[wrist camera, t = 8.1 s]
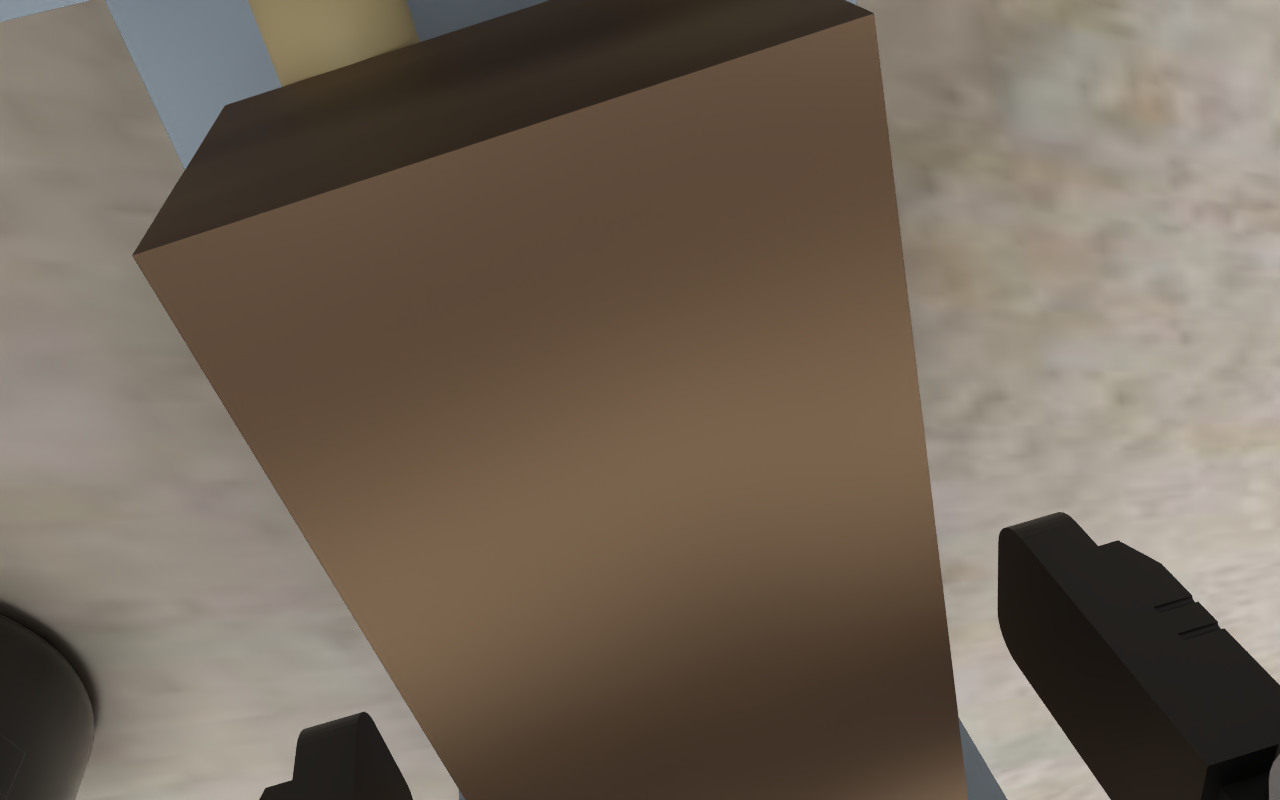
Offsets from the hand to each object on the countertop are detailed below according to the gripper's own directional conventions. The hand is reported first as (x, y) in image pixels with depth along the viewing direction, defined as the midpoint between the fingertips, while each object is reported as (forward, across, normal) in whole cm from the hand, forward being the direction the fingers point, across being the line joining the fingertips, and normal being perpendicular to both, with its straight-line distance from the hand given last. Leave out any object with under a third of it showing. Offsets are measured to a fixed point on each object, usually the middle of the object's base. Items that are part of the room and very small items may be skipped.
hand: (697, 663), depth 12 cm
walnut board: (+3, 0, 0) cm, 3 cm away
